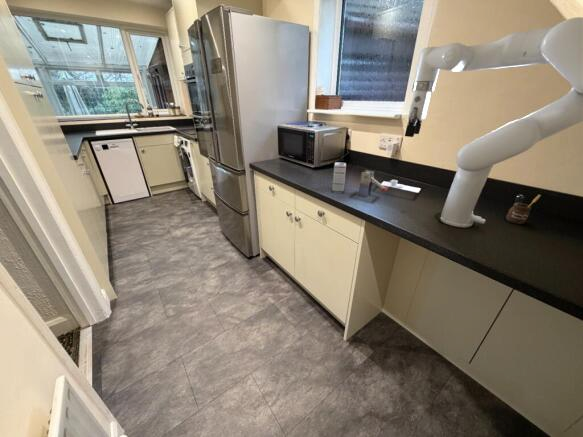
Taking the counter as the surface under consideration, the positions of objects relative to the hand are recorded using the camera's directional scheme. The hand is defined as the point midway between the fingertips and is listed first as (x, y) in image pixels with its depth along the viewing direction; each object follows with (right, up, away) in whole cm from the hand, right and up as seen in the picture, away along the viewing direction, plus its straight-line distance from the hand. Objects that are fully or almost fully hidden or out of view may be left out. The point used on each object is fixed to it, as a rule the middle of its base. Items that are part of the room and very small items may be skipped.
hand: (411, 135), depth 96 cm
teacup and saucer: (+7, -19, +28) cm, 35 cm away
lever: (-11, -18, +13) cm, 25 cm away
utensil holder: (+41, -36, -1) cm, 55 cm away
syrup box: (-26, -20, +26) cm, 42 cm away
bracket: (-14, -24, +19) cm, 34 cm away
